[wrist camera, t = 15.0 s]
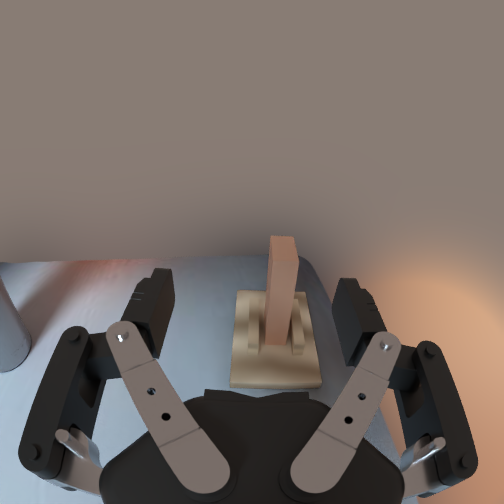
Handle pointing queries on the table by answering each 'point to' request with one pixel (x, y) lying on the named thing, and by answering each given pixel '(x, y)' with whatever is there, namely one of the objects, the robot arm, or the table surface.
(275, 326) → the block
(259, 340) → the plate
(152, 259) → the table surface
